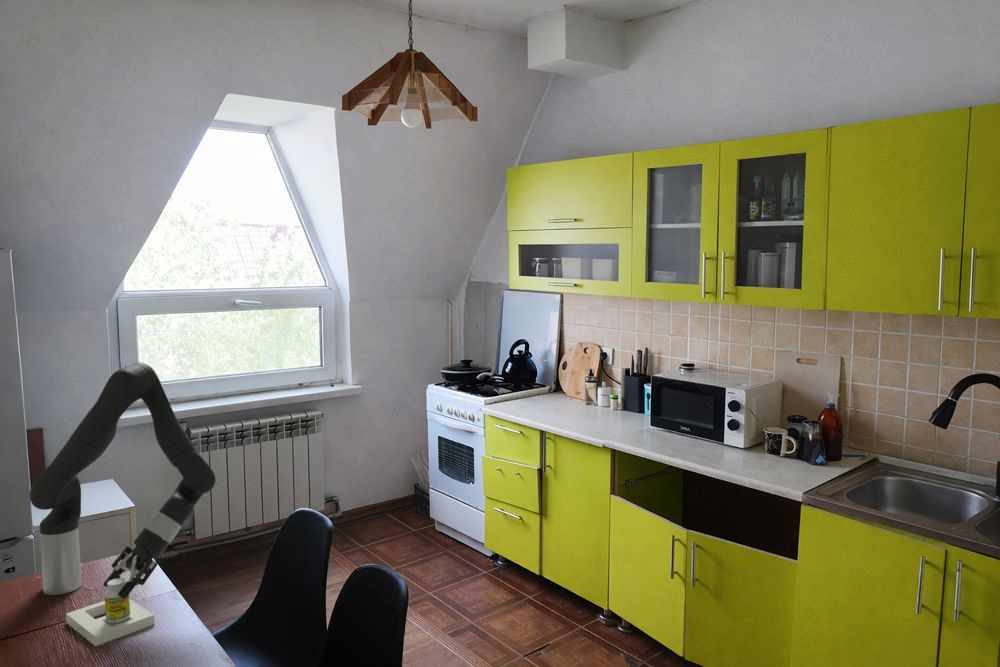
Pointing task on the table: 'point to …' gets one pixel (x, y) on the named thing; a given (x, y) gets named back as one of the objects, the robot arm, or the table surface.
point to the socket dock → (103, 630)
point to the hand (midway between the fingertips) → (113, 592)
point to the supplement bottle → (116, 602)
